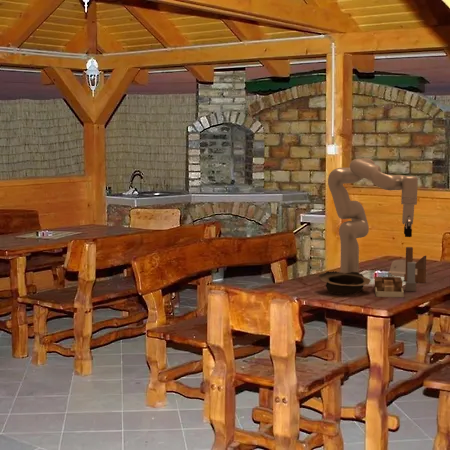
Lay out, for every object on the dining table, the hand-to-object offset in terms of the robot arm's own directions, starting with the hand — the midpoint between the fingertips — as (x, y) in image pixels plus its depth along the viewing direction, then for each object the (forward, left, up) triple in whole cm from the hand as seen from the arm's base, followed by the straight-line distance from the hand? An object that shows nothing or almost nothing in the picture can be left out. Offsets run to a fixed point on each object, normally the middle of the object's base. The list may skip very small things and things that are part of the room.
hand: (407, 235), depth 410 cm
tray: (-9, -16, -27) cm, 33 cm away
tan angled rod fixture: (+6, +23, -27) cm, 36 cm away
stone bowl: (-30, -12, -27) cm, 42 cm away
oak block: (-10, -13, -27) cm, 31 cm away
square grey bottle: (+2, -4, -27) cm, 27 cm away
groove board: (-9, -3, -27) cm, 29 cm away
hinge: (+2, +42, -27) cm, 50 cm away
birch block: (-9, -15, -25) cm, 30 cm away
